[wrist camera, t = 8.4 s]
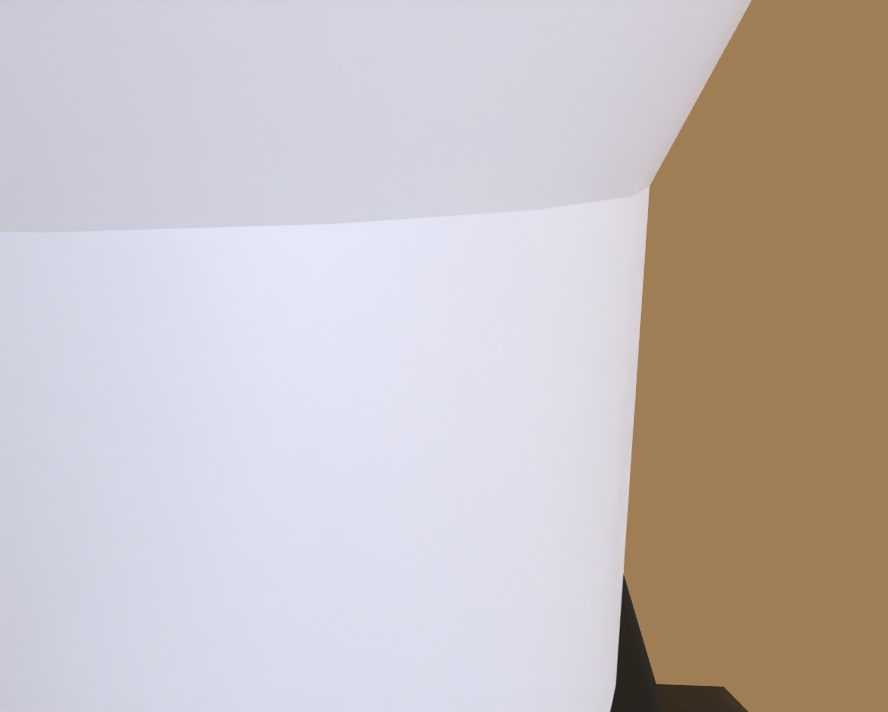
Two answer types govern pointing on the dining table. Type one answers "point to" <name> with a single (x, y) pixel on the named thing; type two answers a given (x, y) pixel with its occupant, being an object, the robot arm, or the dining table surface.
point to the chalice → (325, 346)
